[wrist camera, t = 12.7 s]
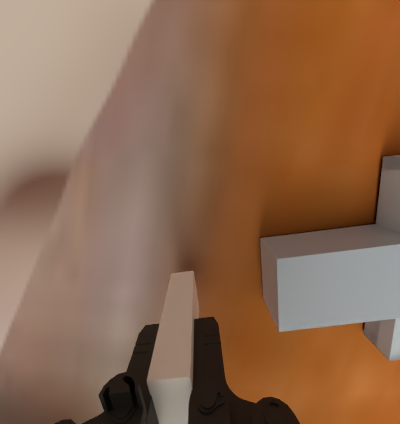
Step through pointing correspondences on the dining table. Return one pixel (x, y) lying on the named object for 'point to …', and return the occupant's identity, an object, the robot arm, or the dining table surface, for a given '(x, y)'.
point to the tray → (341, 273)
